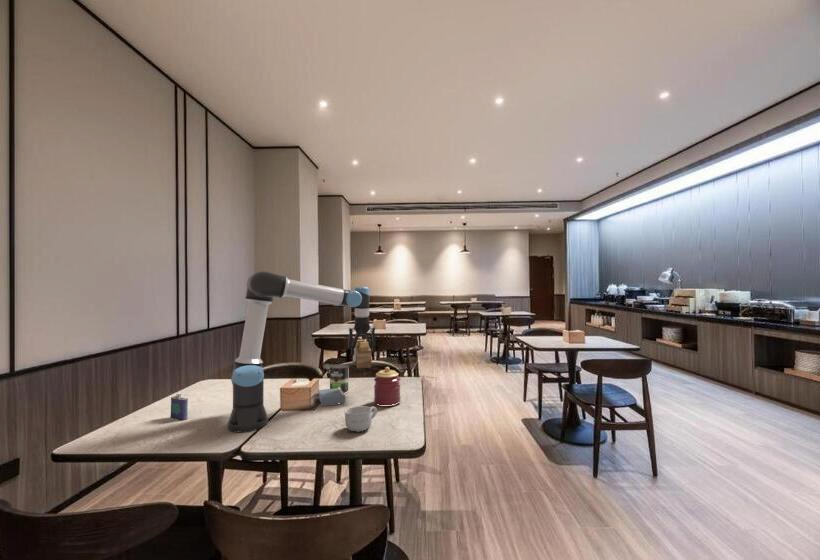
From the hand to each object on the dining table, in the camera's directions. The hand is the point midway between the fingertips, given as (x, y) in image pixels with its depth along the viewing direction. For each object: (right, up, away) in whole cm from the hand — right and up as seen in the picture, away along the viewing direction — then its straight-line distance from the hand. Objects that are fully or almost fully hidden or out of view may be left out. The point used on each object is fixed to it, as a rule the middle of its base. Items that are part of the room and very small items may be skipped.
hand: (361, 360), depth 187 cm
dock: (-15, -19, -6) cm, 24 cm away
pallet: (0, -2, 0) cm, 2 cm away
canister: (+14, -19, -10) cm, 25 cm away
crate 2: (+1, +6, -4) cm, 7 cm away
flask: (-76, -19, -29) cm, 84 cm away
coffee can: (-13, -19, +9) cm, 25 cm away
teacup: (+6, -18, -42) cm, 46 cm away
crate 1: (-1, +6, +4) cm, 7 cm away
